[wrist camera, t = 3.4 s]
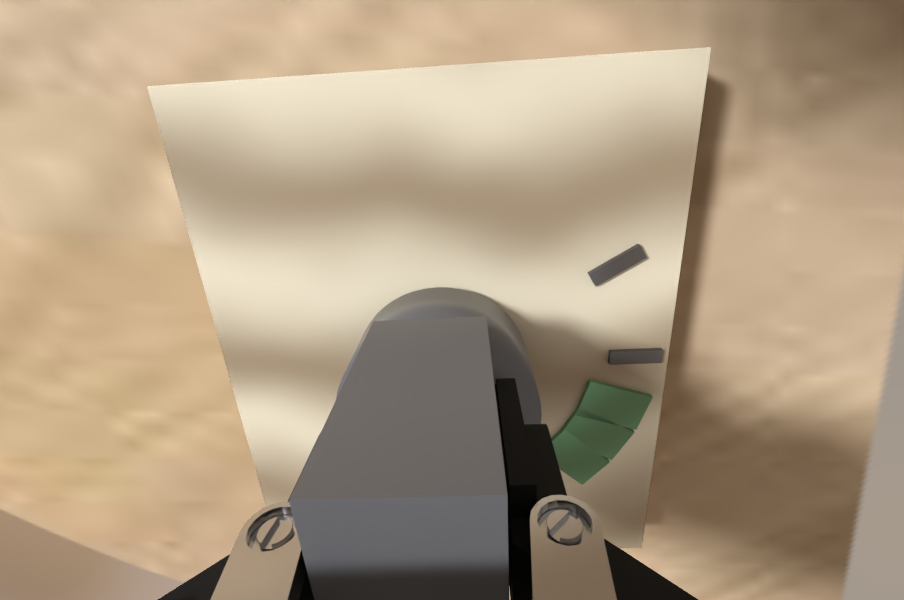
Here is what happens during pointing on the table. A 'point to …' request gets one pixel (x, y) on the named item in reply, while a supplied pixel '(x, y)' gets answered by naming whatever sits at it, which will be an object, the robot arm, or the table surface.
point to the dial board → (449, 237)
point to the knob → (416, 457)
